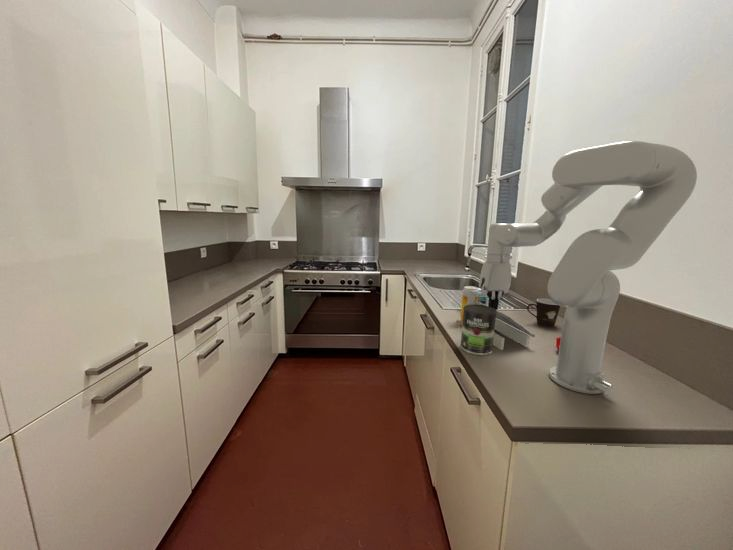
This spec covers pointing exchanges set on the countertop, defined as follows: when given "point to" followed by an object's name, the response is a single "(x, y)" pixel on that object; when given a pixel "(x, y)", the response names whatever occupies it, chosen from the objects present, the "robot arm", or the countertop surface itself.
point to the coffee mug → (546, 312)
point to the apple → (558, 342)
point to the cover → (506, 319)
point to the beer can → (469, 297)
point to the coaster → (459, 321)
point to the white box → (509, 335)
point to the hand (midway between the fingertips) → (492, 308)
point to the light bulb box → (482, 297)
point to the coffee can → (478, 329)
